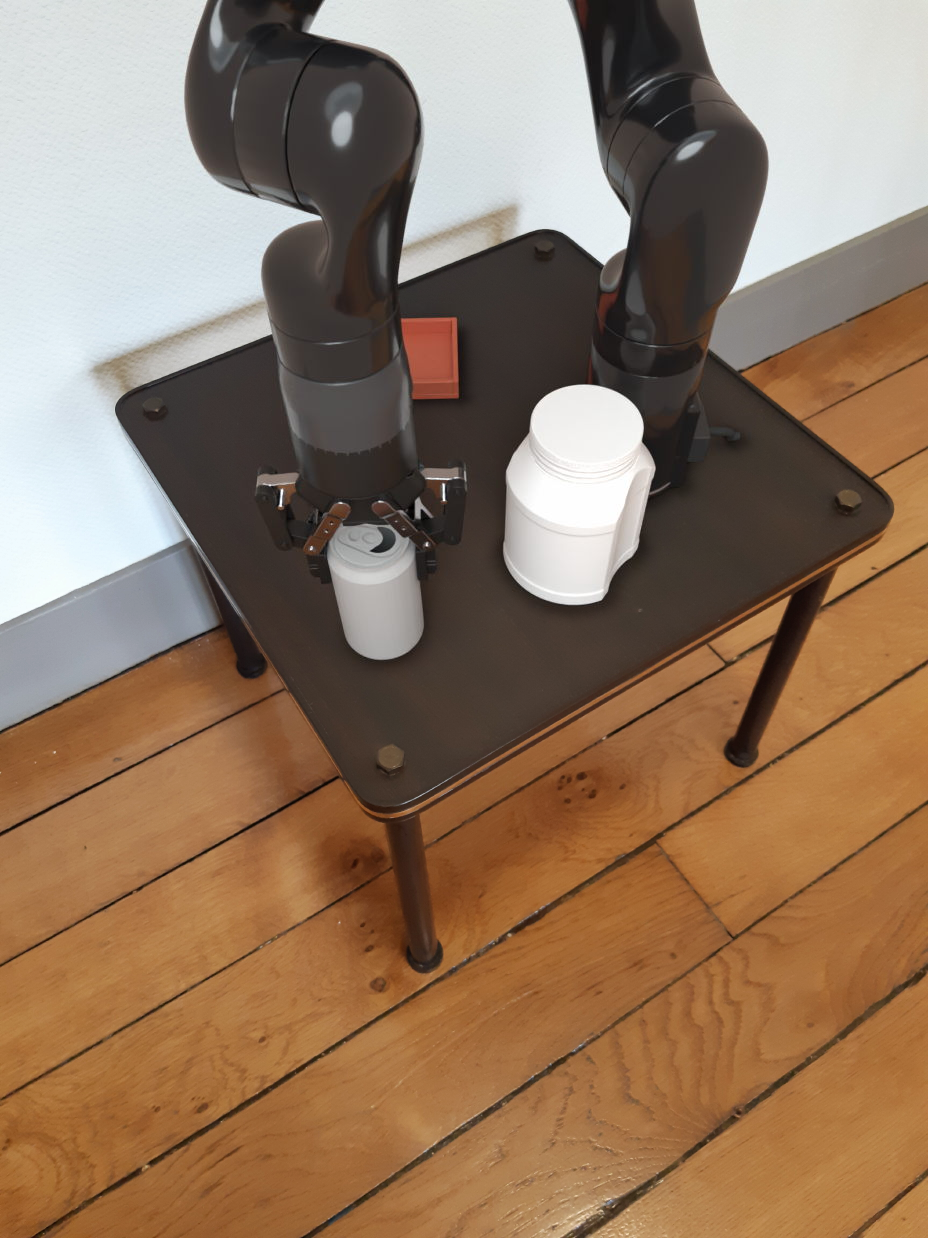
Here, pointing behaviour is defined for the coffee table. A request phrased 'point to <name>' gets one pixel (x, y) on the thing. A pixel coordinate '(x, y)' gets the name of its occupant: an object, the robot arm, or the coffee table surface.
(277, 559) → the coffee table surface
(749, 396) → the coffee table surface
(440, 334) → the red tray
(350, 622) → the beverage can
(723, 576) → the coffee table surface
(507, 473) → the jar
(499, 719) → the coffee table surface
